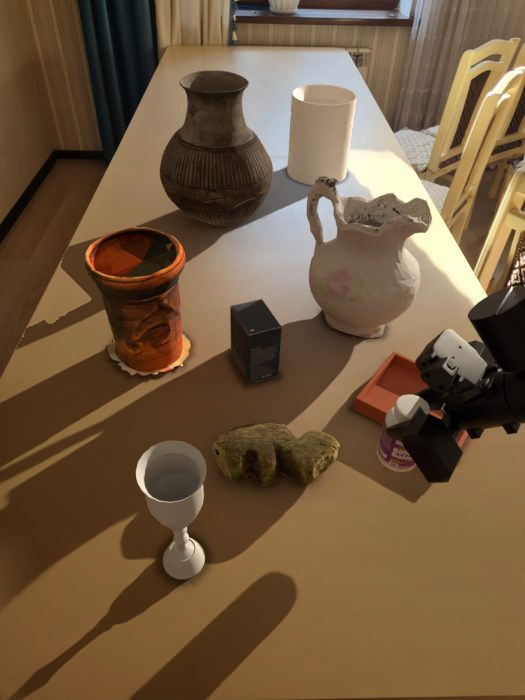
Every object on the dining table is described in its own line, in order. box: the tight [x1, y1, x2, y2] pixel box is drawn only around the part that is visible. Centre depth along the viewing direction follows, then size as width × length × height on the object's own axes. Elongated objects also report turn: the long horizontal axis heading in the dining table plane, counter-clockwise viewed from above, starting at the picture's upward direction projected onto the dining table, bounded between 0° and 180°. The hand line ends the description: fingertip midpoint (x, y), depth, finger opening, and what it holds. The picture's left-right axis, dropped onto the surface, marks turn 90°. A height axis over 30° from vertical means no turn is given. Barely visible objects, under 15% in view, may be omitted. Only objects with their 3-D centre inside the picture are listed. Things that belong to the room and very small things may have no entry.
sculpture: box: [211, 422, 341, 486], centre depth 74 cm, size 18×5×10 cm
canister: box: [286, 83, 358, 186], centre depth 139 cm, size 16×16×20 cm
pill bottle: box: [376, 395, 430, 473], centre depth 67 cm, size 5×5×10 cm
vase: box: [159, 70, 274, 227], centre depth 116 cm, size 25×25×30 cm
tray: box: [353, 350, 469, 450], centre depth 83 cm, size 16×13×3 cm
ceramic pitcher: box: [306, 176, 433, 339], centre depth 92 cm, size 22×20×25 cm
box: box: [229, 298, 283, 385], centre depth 86 cm, size 8×6×11 cm
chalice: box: [135, 439, 208, 580], centre depth 59 cm, size 7×7×18 cm
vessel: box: [83, 226, 192, 377], centre depth 85 cm, size 14×14×20 cm
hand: (397, 417), depth 66 cm, fingers closed on pill bottle, 5 cm apart
